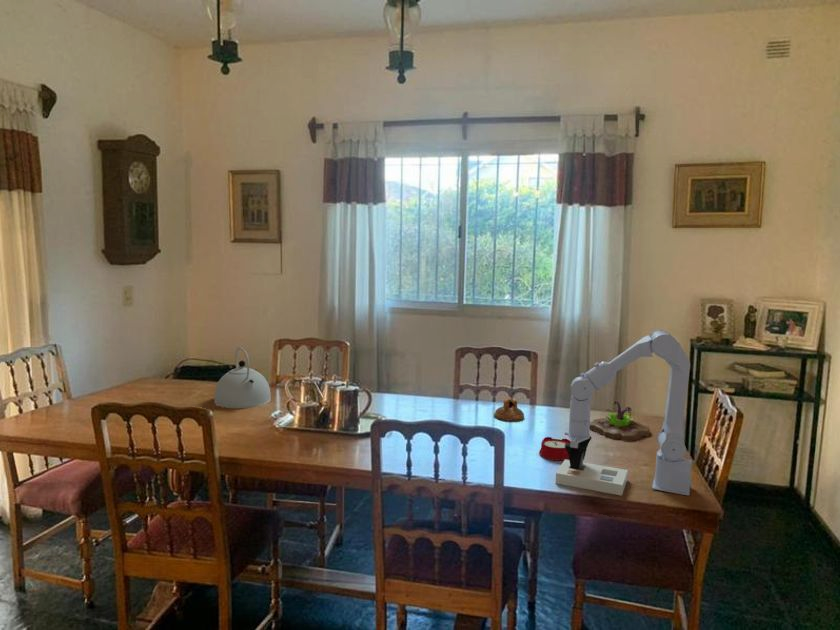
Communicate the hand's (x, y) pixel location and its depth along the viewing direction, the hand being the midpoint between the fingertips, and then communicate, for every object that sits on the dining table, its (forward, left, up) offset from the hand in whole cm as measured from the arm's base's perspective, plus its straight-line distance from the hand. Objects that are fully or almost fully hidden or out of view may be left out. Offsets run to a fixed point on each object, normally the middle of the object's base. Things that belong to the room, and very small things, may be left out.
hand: (577, 464), depth 174 cm
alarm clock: (+10, -17, -4) cm, 20 cm away
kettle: (+140, -17, -4) cm, 141 cm away
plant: (-5, -51, -4) cm, 52 cm away
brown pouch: (+35, -49, -4) cm, 60 cm away
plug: (0, 0, -3) cm, 3 cm away
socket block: (-4, +2, -4) cm, 6 cm away
